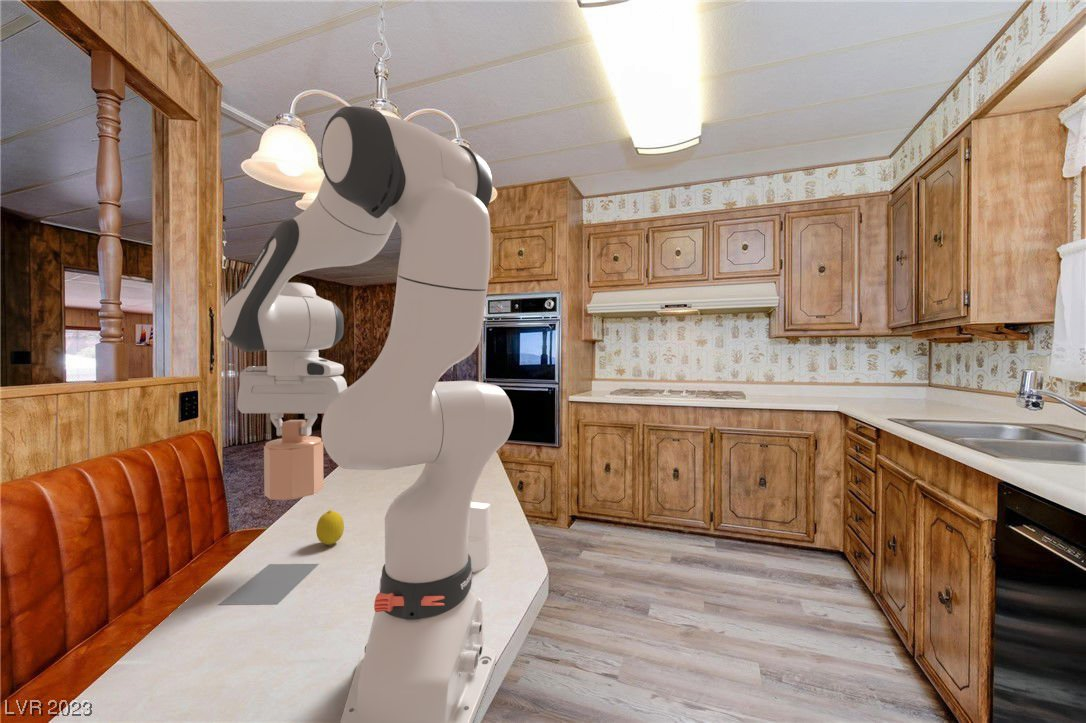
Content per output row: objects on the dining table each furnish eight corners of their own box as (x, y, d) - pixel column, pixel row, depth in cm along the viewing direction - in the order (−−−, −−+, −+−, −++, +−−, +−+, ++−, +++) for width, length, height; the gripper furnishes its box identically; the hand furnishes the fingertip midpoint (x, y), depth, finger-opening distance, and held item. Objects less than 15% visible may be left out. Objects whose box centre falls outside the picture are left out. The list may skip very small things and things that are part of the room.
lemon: (333, 552, 92) (332, 515, 92) (310, 550, 93) (310, 514, 93) (349, 541, 98) (349, 506, 97) (328, 539, 99) (327, 505, 99)
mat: (277, 606, 72) (277, 604, 72) (217, 607, 72) (217, 604, 72) (319, 565, 86) (319, 563, 86) (269, 566, 86) (269, 564, 86)
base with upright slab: (496, 555, 91) (496, 499, 91) (479, 576, 82) (479, 514, 82) (458, 549, 94) (458, 495, 93) (437, 569, 85) (437, 509, 85)
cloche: (306, 499, 81) (305, 425, 80) (254, 499, 80) (253, 425, 80) (330, 483, 90) (329, 417, 90) (284, 483, 90) (283, 417, 90)
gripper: (228, 366, 81) (229, 438, 81) (338, 367, 82) (338, 438, 82) (250, 365, 87) (251, 432, 88) (351, 365, 88) (352, 432, 88)
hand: (294, 435), depth 85 cm, fingers closed on cloche, 3 cm apart
